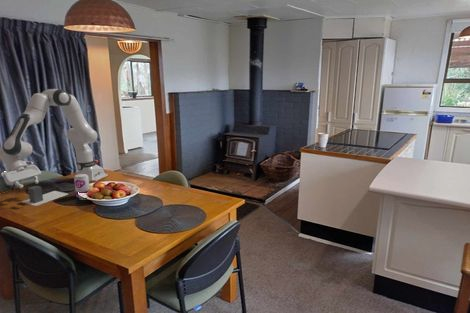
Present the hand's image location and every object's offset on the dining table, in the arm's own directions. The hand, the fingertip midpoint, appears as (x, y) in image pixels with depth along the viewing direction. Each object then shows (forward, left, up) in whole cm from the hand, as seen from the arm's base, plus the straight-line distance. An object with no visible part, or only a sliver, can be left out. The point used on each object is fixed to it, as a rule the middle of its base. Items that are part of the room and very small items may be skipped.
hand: (29, 185), depth 200 cm
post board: (-6, +4, -11) cm, 13 cm away
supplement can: (-19, +22, -11) cm, 31 cm away
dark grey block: (0, +4, -9) cm, 10 cm away
